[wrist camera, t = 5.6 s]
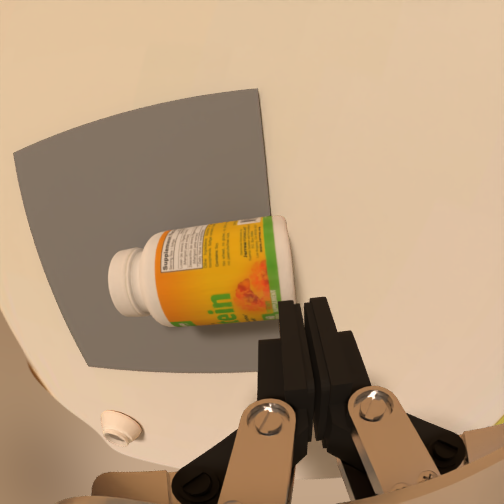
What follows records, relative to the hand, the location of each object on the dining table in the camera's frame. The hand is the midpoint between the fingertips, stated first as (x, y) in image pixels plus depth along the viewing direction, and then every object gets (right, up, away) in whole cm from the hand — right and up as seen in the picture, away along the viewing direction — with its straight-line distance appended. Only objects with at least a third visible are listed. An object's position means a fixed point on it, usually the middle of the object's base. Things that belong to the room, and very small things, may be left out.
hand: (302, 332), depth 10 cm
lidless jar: (-17, -17, +18) cm, 30 cm away
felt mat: (-9, +2, +9) cm, 13 cm away
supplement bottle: (+1, +2, +5) cm, 6 cm away
